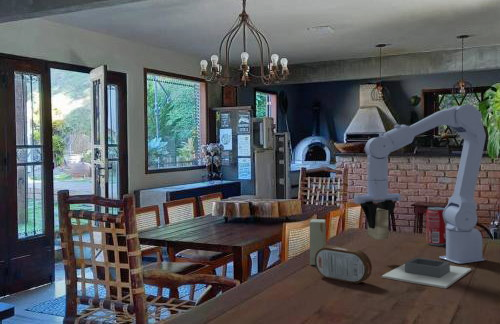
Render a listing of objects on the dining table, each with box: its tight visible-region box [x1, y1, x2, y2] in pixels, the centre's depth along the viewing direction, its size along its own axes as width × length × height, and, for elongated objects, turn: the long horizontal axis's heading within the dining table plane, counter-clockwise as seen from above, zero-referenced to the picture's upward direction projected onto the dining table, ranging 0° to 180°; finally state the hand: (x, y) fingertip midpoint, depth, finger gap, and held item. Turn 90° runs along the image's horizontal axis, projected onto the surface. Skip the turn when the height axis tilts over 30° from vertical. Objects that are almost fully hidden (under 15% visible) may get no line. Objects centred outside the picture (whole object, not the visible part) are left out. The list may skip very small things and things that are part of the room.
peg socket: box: [381, 256, 472, 289], centre depth 132 cm, size 20×16×3 cm
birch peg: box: [367, 207, 389, 240], centre depth 145 cm, size 4×5×8 cm
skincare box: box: [309, 218, 327, 266], centre depth 145 cm, size 6×4×12 cm
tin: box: [314, 244, 373, 285], centre depth 127 cm, size 15×3×8 cm, turn 50°
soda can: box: [425, 206, 447, 247], centre depth 167 cm, size 6×6×12 cm
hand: (377, 227), depth 145 cm, fingers closed on birch peg, 3 cm apart
